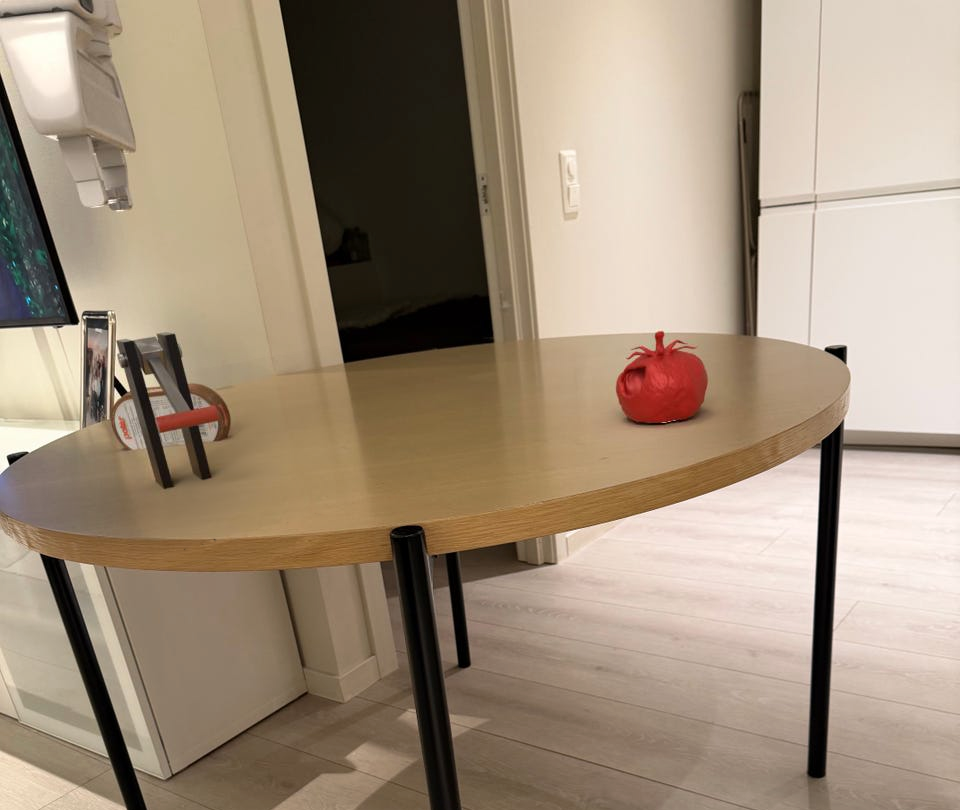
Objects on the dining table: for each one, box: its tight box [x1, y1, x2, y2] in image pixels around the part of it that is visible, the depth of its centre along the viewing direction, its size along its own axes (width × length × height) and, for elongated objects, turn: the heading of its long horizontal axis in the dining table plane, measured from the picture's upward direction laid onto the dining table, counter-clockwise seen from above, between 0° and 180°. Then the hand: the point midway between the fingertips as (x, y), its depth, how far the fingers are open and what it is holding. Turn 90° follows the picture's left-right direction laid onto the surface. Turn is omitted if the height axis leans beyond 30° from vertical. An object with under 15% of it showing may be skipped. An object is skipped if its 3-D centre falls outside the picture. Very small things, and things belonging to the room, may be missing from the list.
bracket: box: [115, 331, 213, 490], centre depth 91 cm, size 10×8×16 cm
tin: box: [110, 382, 232, 451], centre depth 112 cm, size 15×3×8 cm, turn 84°
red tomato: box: [615, 330, 709, 424], centre depth 97 cm, size 10×10×9 cm
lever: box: [132, 336, 219, 433], centre depth 86 cm, size 14×6×2 cm, turn 29°
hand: (110, 208), depth 74 cm, fingers open, 8 cm apart
